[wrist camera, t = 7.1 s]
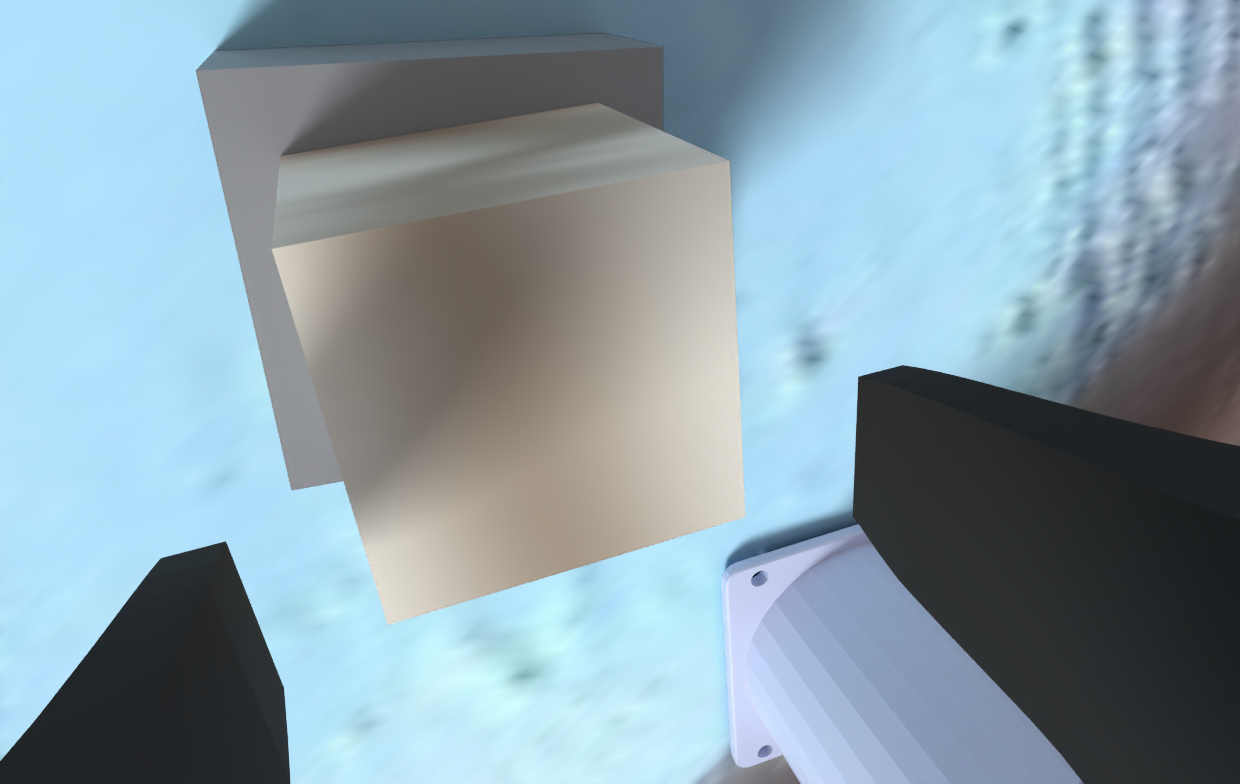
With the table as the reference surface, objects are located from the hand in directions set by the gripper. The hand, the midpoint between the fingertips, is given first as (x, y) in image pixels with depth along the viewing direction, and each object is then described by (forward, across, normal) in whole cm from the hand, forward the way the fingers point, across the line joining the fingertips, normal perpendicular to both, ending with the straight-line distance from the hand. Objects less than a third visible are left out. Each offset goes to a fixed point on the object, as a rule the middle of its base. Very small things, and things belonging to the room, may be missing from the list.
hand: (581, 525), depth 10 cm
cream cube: (+6, 0, -1) cm, 6 cm away
